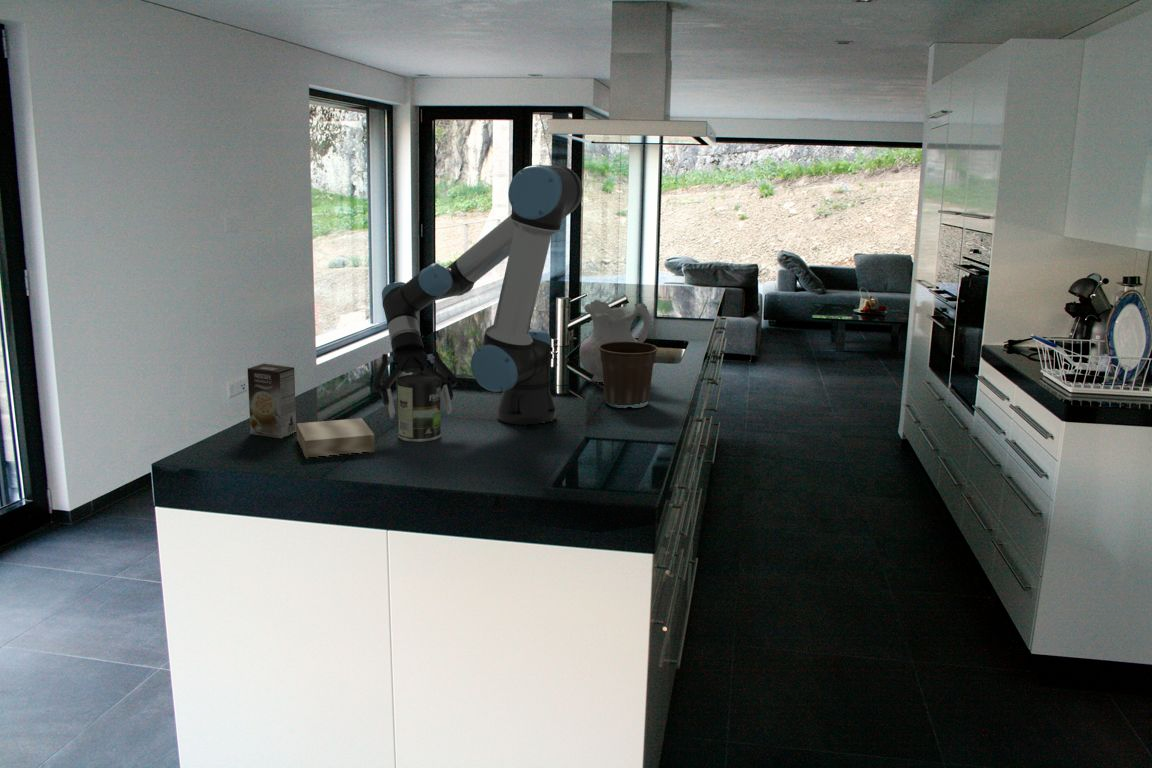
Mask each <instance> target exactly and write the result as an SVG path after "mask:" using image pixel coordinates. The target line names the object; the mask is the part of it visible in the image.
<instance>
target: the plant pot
mask: <svg viewBox="0 0 1152 768" xmlns="http://www.w3.org/2000/svg"><path fill="white" fill-rule="evenodd" d="M598 349H599V350H600V356H601V362H602V370H603V384H604V385H603V398H604V399H603V400H605V401H606V402H608V403H611V404H617V405H634V404H640V403H645V402H647V401H650V394H651V385H652V378H653V371H654V369H653V367H654V364H655V362H656V355H657V352H658V350H659V348H658V346H656V345H655V344H651V343H647V342H645V343H644V342H643V343H639V342H609V343H604V344H601V345H599V346H598Z"/></svg>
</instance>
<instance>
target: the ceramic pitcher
mask: <svg viewBox="0 0 1152 768" xmlns="http://www.w3.org/2000/svg"><path fill="white" fill-rule="evenodd" d="M634 306H635V307H634V309H633V311H632V312H630V313H629V312H627V311H626V310H625V308H623V307H612V308H611V307H610V304H608V303H607V302H606V301H601V300H599V299H594V300H593V301H590V303H589V304H588V303H587V304H585V305H584V307H583V308H584V311H585V312H586V313H587V314H589V315H590V317H591V320H592V325H593V327H592V332H591V334H590V335H589V336H587V337H586V338H585V339H583V340H582V341H581V342H580V343H581V344H580V346H579V359H580V363H581V364H582V366H583V368H584V369H585V371H586V372H588V373H590V374H591V375H592V374H593V376H592V378H591V380H594V381H597V382H603V370H602V362H601V356H600V350H599V349H598V346H599V345H601V344H604V343H609V342H639V343H644V342H645V341H646V339H647V337H648V334H649V332H650V330H651V314H650V312H649V309H648V306H647V305H646V303H642V302H641V303H639V302H638V303H634ZM638 316H639V317H642V320H643V327H642V329H641V331H640V334H638V335H639V336H638V339H636V338H635V337H634V336H633V334H632V332H631V328H632V327H631V326H632V323H633V322H632V321H633V320H634V319H635V318H636V317H638Z"/></svg>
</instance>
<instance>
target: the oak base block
mask: <svg viewBox="0 0 1152 768" xmlns="http://www.w3.org/2000/svg"><path fill="white" fill-rule="evenodd" d="M296 440H297V442H299V443H298V444H300V445H299V446H301V447H300V449H301V448H302V449H301V451H302V450H303V451H302V453H303V456H304V457H306V458H305V459H309V458H308V457H316V458H319V457H318V456H326V457H330V456H329V455H337V456H340V455H339V454H348V453H349V454H348V455H352V454H351V453H359V454H363V453H362V452H369V453H375V452H376V449H375V447H376V446H375V444H376V443H375V442H376V440H375V433H374V432H373V431H372V430H371V428H370V427H369V426H368V424H367V423H366V422H365V420H364V419H363V418H362V417H361V418H350V419H349V418H348V419H338V420H337V419H336V420H335V419H334V420H333V419H332V420H323V421H322V420H321V421H311V422H310V421H308V422H296Z"/></svg>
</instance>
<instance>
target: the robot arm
mask: <svg viewBox="0 0 1152 768" xmlns="http://www.w3.org/2000/svg"><path fill="white" fill-rule="evenodd" d="M508 186H509V187H508V194H507V195H508V202H509V203H510V205H511V206H510V207H511V209H512V210H511V214H510V215H509V216H508V217H506V218H505V219H504V220H502V221H501V222H500V223H499V224H498V225H496V227H494V228H493V229H492V230H491V231H489V232H488V233H487V234H486V235H484V236H483V237H482V238H480V239H479V240H478V241H476V243H475V244H473V245H472V246H471V247H470V248H468V250H466V251H465V252H464V253H462V254H461V255H460V256H459V257H458V258H457V259H455V260H454V261H453V262H452V263H450V264H449V265H447V266H446V267H445V266H443V265H442V264H440V263H435V262H433V263H431V264H430V265H428V266H427V267H424V268H422V269H421V270H420V272H419V273H418V274H416V275H414V276H413V277H412V278H411V279H410V280H408V281H407V282H403V281H395V282H393V283H388V284H386V285H385V286H384V287H383V289H382V291H381V301H382V308H383V310H384V311H383V312H384V316H385V321H386V323H387V324H386V325H387V329H388V335H389V341H390V347H391V350H392V356H391V355H390V356H389V355H387V353H383V354H382V356H381V360H380V368H379V370H378V373H377V376H376V377H375V380H374V383H373V385H372V386H373V387H372V389H371V391H372V392H373V393H379V395H380V396H381V399H382V401H381V402H382V404H383V405H384V406H387V408H388V409H387V410H388V414H389V418H390V419H394V418H395V415H396V410H395V409H396V408H395V406H394V400H393V395H392V389H391V387H392V385H393V384H394V382H396V379H397V378H398V377H400V376H401V374H402V373H405V374H410V373H413V374H418V373H419V372H420V373H421V374H427V375H434V376H438V377H440V378H441V382H440V388H441V387H442V390H441V392H442V393H441V394H442V398H443V403H444V406H445V410H446V414H447V415H450V414H451V412H452V410H453V405H452V402H451V401H453V398H454V392H453V388H455V387H456V386H457V383H458V381H459V380H458V378H457V377H456V376H455V375H454V373H453V372H452V371H451V370H450V369H449V367H448V366H447V365H446V364H445V363H444V361H443V360H442V359H441V358H440V354H439V352H438V351H434V350H433V352H432V353H429V354H427V353H426V352H425V348H424V347H425V346H424V343H423V339H422V336H421V334H422V333H421V331H420V325H419V322H418V315H417V314H418V313H419V312H420V311H422V310H423V309H424V308H426V307H427V306H429V305H430V304H432V303H433V302H435V301H439V300H443V299H448V298H452V297H457V296H458V297H460V296H463V295H465V294H467V293H469V292H471V290H472V289H473V288H474V285H475V283H476V282H477V281H479V280H481V279H482V278H483V277H484V276H485V275H486V274H488V273H489V272H490V271H491V270H492V269H495V267H496V266H497V265H499V264H501V262H503V261H504V260H505V259H507V258H508V259H507V263H506V266H505V272H504V276H503V281H502V285H501V290H500V294H499V298H498V302H497V306H496V311H495V316H494V319H493V324H491V325H490V326H488V327H487V328H486V329H485V332H484V335H483V339H482V344H481V346H479V347H478V348H476V350H475V351H474V352H473V354H472V356H471V359H470V369H471V375H472V376H473V377H474V378H475V380H476V383H477V384H478V385H479V386H480V387H482V388H484V390H487V391H490V392H496V393H498V392H502V394H501V397H500V399H499V403H498V405H497V408H496V409H497V411H496V418H497V420H498V421H500V422H504V423H507V424H512V425H521V426H523V425H524V426H528V425H527V424H535V425H539V424H538V423H543V422H548V421H551V420H553V419H555V420H556V418H557V413H556V412H557V410H556V406H555V403H554V399H553V395H552V392H551V390H550V378H551V377H550V374H551V348H552V344H551V335H550V334H549V332H548V331H545V330H541V329H530V327H531V323H532V318H533V314H534V310H535V306H536V302H537V299H538V293H539V290H540V285H541V281H542V278H543V273H544V268H545V266H546V265H545V264H546V260H547V256H548V252H549V247H550V244H551V240H552V237H553V235H555V234H556V233H558V232H560V229H561V226H562V222H563V219H564V218H566V217H567V216H569V215H570V214H571V213H572V212H574V211H575V210H576V209H577V208H578V206H579V205H580V203H581V201H582V197H583V190H584V189H583V184H582V181H581V179H580V177H579V176H578V175H577V173H576V172H574V170H572V169H571V168H569V167H567V166H564V165H548V164H534V165H530V166H526V167H524V168H522V169H521V170H519V171H518V172H517V173H516V174H515V175H514V176H513V178H512V179H511V181H510V184H509V185H508ZM428 361H429V362H430V363H431V364H433V366H434V367H432V365H431V364H430V363H429V362H428ZM391 363H393V364H394V366H395V368H394V369H393V371H392V372H391V374H390V375H389V376H388V377H387V378H386V380H385V381H384V382H383V384H382V383H381V382H382V380H383V377H384V375H385V373H386V370H387V367H388V366H390V365H391ZM435 368H436V369H435ZM555 417H556V418H555ZM553 421H554V420H553ZM551 422H552V421H551ZM548 423H549V422H548Z"/></svg>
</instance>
